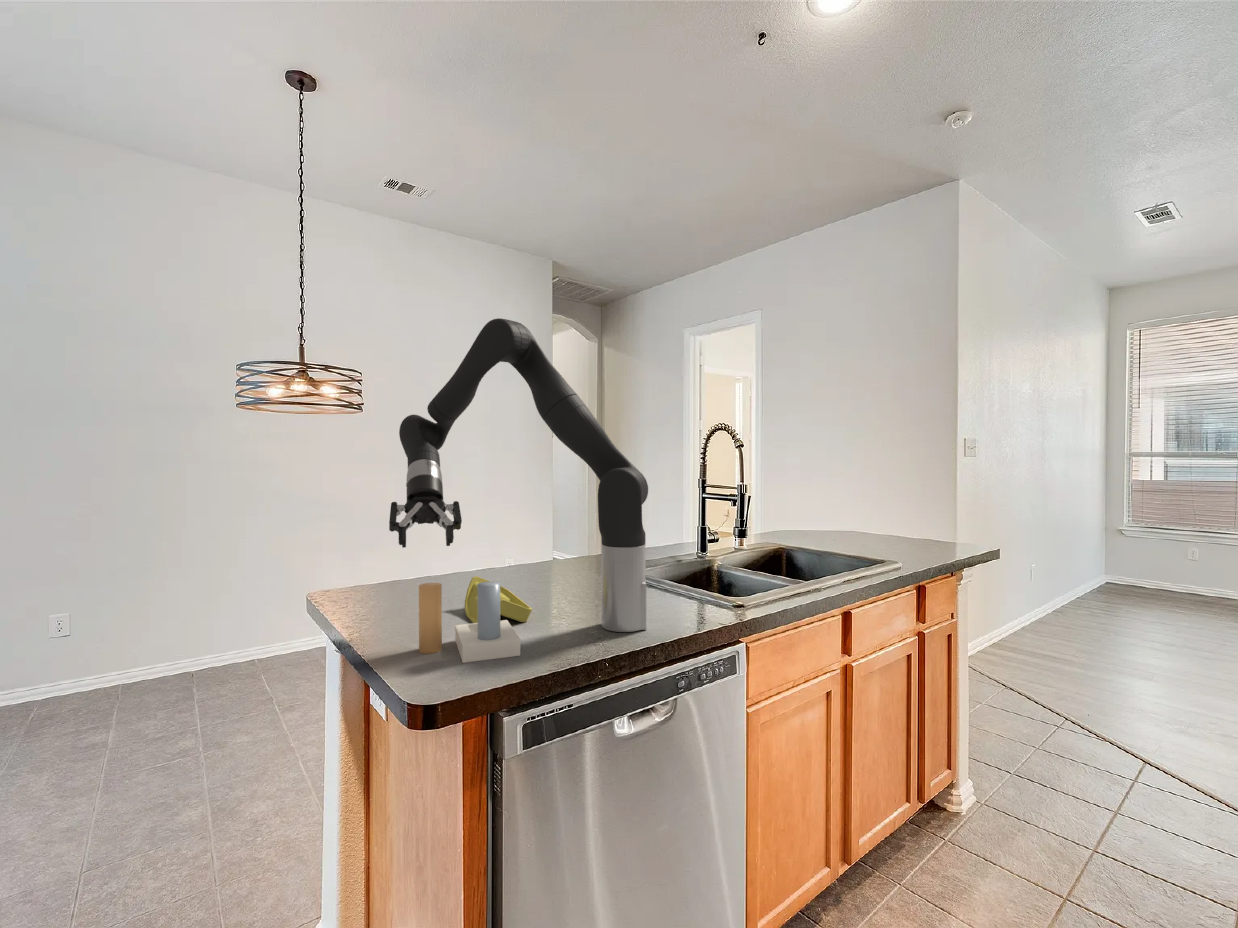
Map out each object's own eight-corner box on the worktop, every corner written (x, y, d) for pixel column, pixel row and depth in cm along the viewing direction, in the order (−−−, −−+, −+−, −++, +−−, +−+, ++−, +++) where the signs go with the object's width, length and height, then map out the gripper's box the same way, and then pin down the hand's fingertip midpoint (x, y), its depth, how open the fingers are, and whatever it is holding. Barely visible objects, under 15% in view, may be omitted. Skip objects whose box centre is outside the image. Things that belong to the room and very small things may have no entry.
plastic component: (535, 611, 125) (495, 596, 120) (520, 643, 124) (479, 630, 119) (505, 586, 142) (469, 573, 137) (491, 615, 141) (454, 602, 136)
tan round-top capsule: (444, 646, 109) (444, 582, 109) (438, 653, 105) (437, 587, 105) (423, 646, 109) (422, 582, 108) (415, 653, 105) (415, 587, 104)
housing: (455, 640, 112) (455, 575, 112) (507, 634, 116) (506, 571, 115) (462, 662, 100) (462, 589, 100) (520, 655, 103) (520, 585, 103)
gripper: (390, 473, 123) (388, 534, 112) (459, 473, 128) (464, 532, 117) (389, 496, 128) (388, 556, 117) (456, 495, 133) (461, 553, 122)
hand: (426, 544), depth 117 cm, fingers open, 8 cm apart
